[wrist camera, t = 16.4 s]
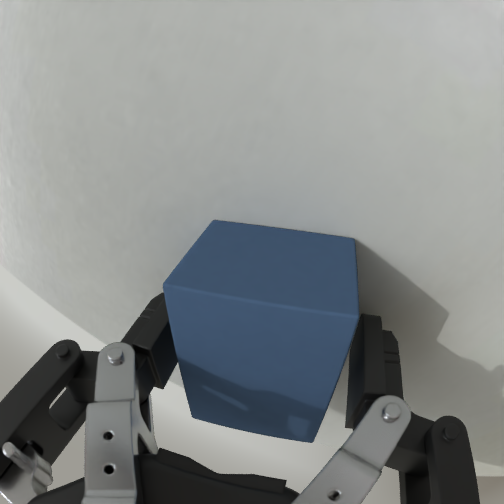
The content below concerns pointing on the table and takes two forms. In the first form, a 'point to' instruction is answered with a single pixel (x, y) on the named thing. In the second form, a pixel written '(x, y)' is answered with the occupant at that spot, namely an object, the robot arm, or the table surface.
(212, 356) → the blue block
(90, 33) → the table surface
